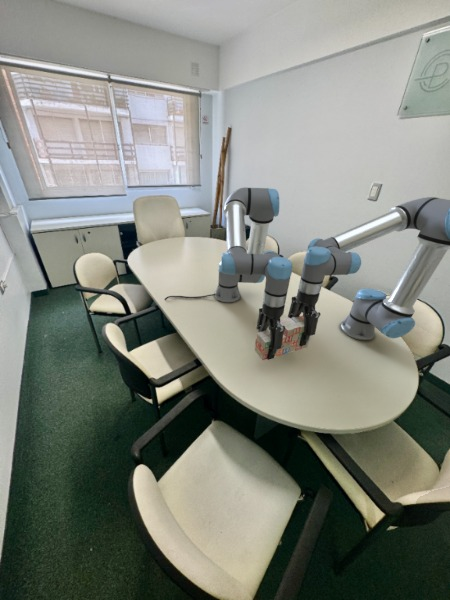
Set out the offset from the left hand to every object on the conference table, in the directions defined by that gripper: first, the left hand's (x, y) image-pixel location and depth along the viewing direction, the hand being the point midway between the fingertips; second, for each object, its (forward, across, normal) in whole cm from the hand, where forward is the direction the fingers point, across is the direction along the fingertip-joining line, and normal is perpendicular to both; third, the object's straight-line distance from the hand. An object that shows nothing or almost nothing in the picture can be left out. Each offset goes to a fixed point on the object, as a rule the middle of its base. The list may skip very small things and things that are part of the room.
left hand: (265, 352), depth 95 cm
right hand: (-2, 0, -15) cm, 15 cm away
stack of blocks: (+1, 0, -7) cm, 7 cm away
